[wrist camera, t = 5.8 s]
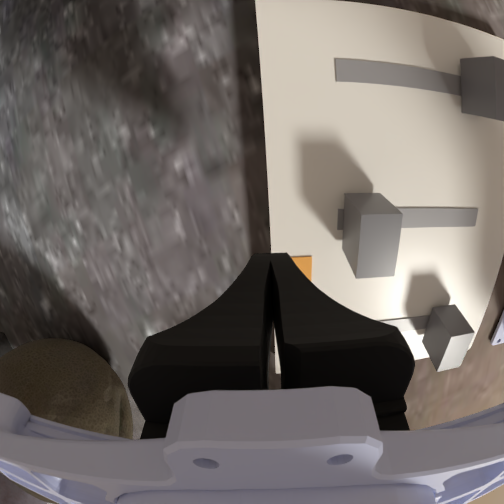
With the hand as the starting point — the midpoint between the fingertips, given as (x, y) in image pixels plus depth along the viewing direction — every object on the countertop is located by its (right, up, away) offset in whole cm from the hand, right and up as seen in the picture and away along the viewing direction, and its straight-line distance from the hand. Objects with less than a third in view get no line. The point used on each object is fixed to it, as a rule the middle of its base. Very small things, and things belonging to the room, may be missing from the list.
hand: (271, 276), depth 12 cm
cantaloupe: (-17, -10, +14) cm, 25 cm away
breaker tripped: (+5, +3, +4) cm, 7 cm away
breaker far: (+13, -4, +8) cm, 15 cm away
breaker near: (+12, +10, 0) cm, 15 cm away
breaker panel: (+9, +4, +6) cm, 11 cm away
